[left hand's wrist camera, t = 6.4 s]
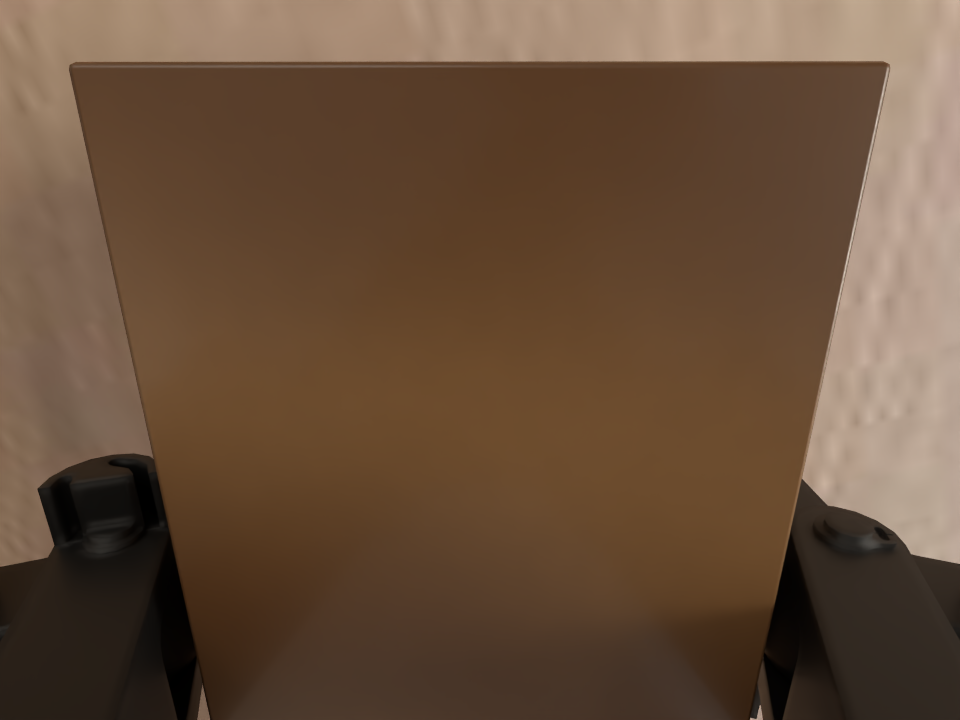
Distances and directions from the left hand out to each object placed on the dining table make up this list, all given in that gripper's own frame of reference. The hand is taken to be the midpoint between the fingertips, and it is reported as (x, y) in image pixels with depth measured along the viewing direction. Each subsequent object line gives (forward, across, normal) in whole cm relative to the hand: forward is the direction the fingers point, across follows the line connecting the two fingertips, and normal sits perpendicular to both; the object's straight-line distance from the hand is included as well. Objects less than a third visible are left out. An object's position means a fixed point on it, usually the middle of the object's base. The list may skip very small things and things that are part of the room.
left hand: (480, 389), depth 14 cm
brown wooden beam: (0, 0, -21) cm, 21 cm away
